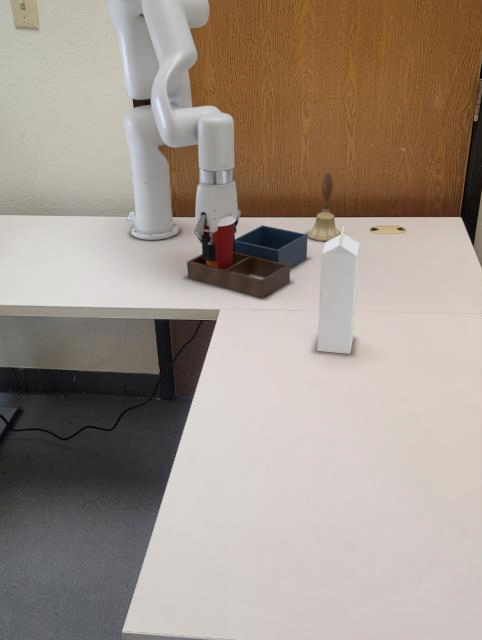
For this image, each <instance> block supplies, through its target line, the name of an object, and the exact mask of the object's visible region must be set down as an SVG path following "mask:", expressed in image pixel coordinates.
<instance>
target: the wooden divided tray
mask: <svg viewBox="0 0 482 640" xmlns="http://www.w3.org/2000/svg"><path fill="white" fill-rule="evenodd" d="M186 268H187V269H186V270H187V279H189V280H194V281H197V282H200V283H205V284H208V285H212V286H215V287H219V288H222V289H227V290H231V291H234V292H238V293H242V294H245V295H249V296H252V297H256V298H259V299H260V298H261V299H265V298H266V297H268V296H269V295H271V294H273V293H275V292H276V291H277V290H279V289H282V287H284V286H286V285H287V284H289V283H290V281H291V280H290V279H291V269H290V265H288V264H284V263H279V262H275V261H271V260H266V259H262V258H258V257H254V256H249V255H245V254H241V253H237V252H233V263H232V266H230V267H229V268H227V269H225V270H223V269H219V268H215V267H211V266H207V265H206V260H204V259H203V258H202V253H201V254H199V255H196V256H195V257H193V258H191V259H189V260H188V261H186ZM250 275H251V276H250ZM252 275H254V276H259V277H263V278H258V277H254V276H252Z"/></svg>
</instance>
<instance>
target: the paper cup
mask: <svg viewBox="0 0 482 640" xmlns="http://www.w3.org/2000/svg"><path fill="white" fill-rule="evenodd" d="M235 221H236V219H235V217H234V215H233V214H231V216H227V217H224V218H222V219H220V220H219V223H218V225H217V227H218V231H216V232H215V233H214V234H215V237H214V241H213V244H215V261H214V262H211V261H207V260H206V265H207V266H211V267H215V268H219V269H223V270H225V269H227V268H229V267H230V266H232V263H233V241H234V222H235ZM205 229H209V230H210V227H208V224H207V223H206V225H205ZM206 236H207V237H208V238H209V236H210V233H209V232H206Z"/></svg>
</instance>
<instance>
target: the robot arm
mask: <svg viewBox="0 0 482 640" xmlns="http://www.w3.org/2000/svg"><path fill="white" fill-rule="evenodd" d="M106 6H107V12H108V14H109V18H110V20H111V23H112V26H113V28H114V30H115V33H116V37H117V42H118V49H119V56H120V57H119V58H120V64H121V72H122V80H123V84H124V85H123V86H124V89H125V93H126V94H127V96H128V97H129V98H130V99H132V100H136V101H142V100H145V101H146V100H150V104H147V105H139V106H135V107H133V108H131V109H129V110H127V112H126V113H125V115H124V117H123V119H122V125H123V132H124V135H125V139H126V140H125V141H126V144H127V148H128V154H129V159H130V169H131V178H132V179H131V180H132V189H133V201H134V210H135V211H134V210H132V211H130V212H129V215H127V216H126V220H127V221H129V222H133V226H132V227H131V229H130V232H131V233H130V234H131V235H132V236H133V237H135V238H136V239H140V240H145V241H146V240H147V241H156V240H164V239H169V238H172V237H174V236H176V235H177V234H178V233H179V232H180V227H179V224H177V223H176V222H174V220H173V203H172V189H171V174H170V165H169V161H168V159H167V158H166V156H165V155H164V153H162V151H161V150H160V148H159V147H160V146H165V145H166V146H167V147H169V148H173V149H176V148H177V149H178V148H183V147H191V146H196V145H197V151H198V179H199V183H198V184H197V187H196V193H195V194H196V195H195V211H194V212H195V216H194V217H195V221H194V222H195V228H194V229H193V234H194V235H195V236H196V238H197V239H198V240H199V243H200V244H201V254H202V258H203V259H204V260H207V261H211V262H214V261H215V244H213V241H214V237H215V234H214V233H215V232H216V231H218V227H217V225H218V223H219V220H220V219H222V218H224V217H227V216H231V214H233V215H234V217H235V219H236V221H235V222H234V241H233V251H235V239H236V233H237V226H238V224H239V221H240V217H241V215H242V211H241V210H240V209H239V205H238V204H239V203H238V192H237V185H236V177H235V175H236V174H235V171H236V170H235V121H234V118H233V116H232V115H231V114H228V113H227V112H226V113H225V112H222V111H221V109H219V108H218V107H216V106H214V105H201V106H193V99H192V90H191V79H190V72H189V70H190V69H192V67H193V66H194V65H195V64H196V62H197V60H198V50H197V48H196V45H195V42H194V41H195V40H194V38H193V35H192V32H191V29H198V28H202V27H204V26H205V25H206V24H207V22H208V20H209V18H210V3H209V0H106ZM142 15H143V16H142ZM206 223H207V224H208V227H210V230H209V229H205V225H206ZM206 232H209V233H210V236H209V238H208V237H207V236H206Z"/></svg>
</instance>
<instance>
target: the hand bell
mask: <svg viewBox="0 0 482 640" xmlns="http://www.w3.org/2000/svg"><path fill="white" fill-rule="evenodd" d="M333 187H334V183H333V178H332V173H331V172H325V174H324V177H323V179H322V184H321V190H322V196H323V202H322V211H321V212H318V213H317V214H316V218H315V221H314V225H313V228H312V229H310V230H309V232H308V233H307V235H308V236H307V237H308V238H310V239H312V240H313V241H319V242H327V241H329V240H331V239H333V238H335V237H337V236H339V235H341V232H340V231H339V230H338V229H337V226H336V222H335V221H336V220H335V215H334V214H333V213H332V212H330V208H331V207H330V202H331V201H330V200H331V196H332V193H333Z"/></svg>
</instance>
